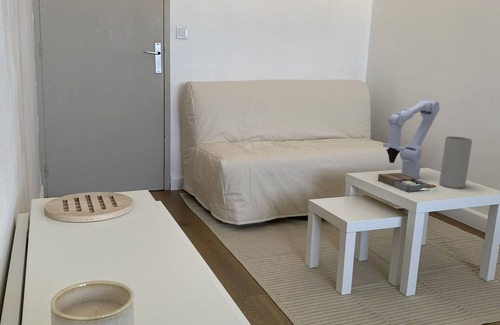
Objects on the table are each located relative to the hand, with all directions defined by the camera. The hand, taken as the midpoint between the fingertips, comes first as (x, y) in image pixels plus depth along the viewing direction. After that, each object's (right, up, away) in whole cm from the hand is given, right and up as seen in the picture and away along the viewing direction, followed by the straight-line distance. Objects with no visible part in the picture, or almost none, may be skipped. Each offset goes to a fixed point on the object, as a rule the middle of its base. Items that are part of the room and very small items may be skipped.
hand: (391, 162), depth 252 cm
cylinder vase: (+31, -12, -3) cm, 33 cm away
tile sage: (+7, -11, -16) cm, 21 cm away
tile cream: (+5, -12, -12) cm, 17 cm away
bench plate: (+1, -11, -4) cm, 11 cm away
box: (+6, -13, -14) cm, 20 cm away
